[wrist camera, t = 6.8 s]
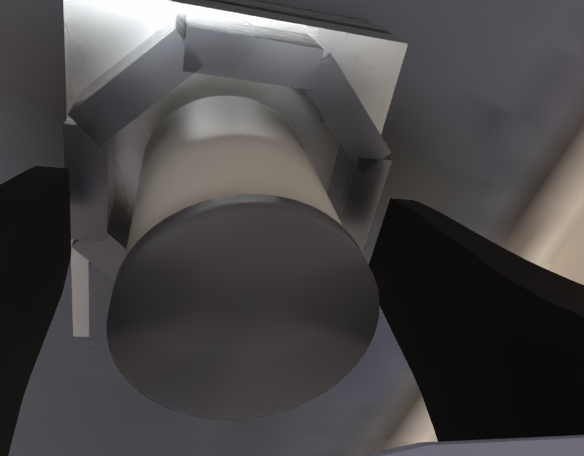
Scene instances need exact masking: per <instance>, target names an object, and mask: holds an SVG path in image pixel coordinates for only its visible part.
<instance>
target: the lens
mask: <svg viewBox="0 0 584 456" xmlns="http://www.w3.org/2000/svg"><path fill="white" fill-rule="evenodd" d="M379 304H380V301H379V293H378V288H377V284H376V281H375V278H374V275H373V273H372V271H371V269H370V267H369V265H368V264H367V262H366V260H365V258H364V256H363V254H362V252H361V250H360V248H359V246H358V244H357V243H356V241H355V240H354V239H353V237H352V236H351V235H350V233H349V232H348V231H347V230H346V229H345V228H344V227H343V226H342V224H341V222H340V220H339V218H338V216H337V214H336V212H335V210H334V207H333V205H332V203H331V201H330V199H329V197H328V195H327V193H326V191H325V189H324V187H323V185H322V183H321V181H320V179H319V177H318V175H317V173H316V171H315V169H314V167H313V165H312V163H311V161H310V159H309V157H308V155H307V153H306V150H305V148H304V146H303V144H302V142H301V140H300V138H299V137H298V135H297V133H296V131H295V130H294V129H293V127H292V126H291V125H290V123H289V122H288V121H287V120H286V119H285V118H284V117H283V116H281V115H280V114H279V113H278V112H276V111H275V110H273V109H272V108H270V107H268V106H267V105H265V104H262V103H260V102H258V101H255V100H252V99H248V98H245V97H238V96H212V97H207V98H203V99H199V100H196V101H193V102H191V103H188V104H186V105H184V106H182V107H181V108H179V109H177V110H176V111H174V112H173V113H172V114H170V115H169V116H168V117H167V118H166V119H165V120H164V121H163V122H162V123H161V124H160V125H159V126H158V127H157V129H156V130H155V131H154V133H153V134H152V136H151V138H150V140H149V142H148V144H147V147H146V150H145V152H144V157H143V162H142V167H141V173H140V178H139V184H138V189H137V194H136V200H135V205H134V211H133V216H132V222H131V227H130V232H129V238H128V243H127V249H126V254H125V259H124V261H123V262H122V264H121V266H120V268H119V270H118V273H117V276H116V278H115V281H114V286H113V290H112V295H111V300H110V305H109V310H108V315H107V339H108V345H109V349H110V352H111V355H112V357H113V360H114V362H115V364H116V365H117V367H118V369H119V370H120V372H121V373H122V375H123V376H124V377H125V378H126V379H127V381H128V382H129V383H130V384H131V385H132V386H133V387H134V388H136V389H137V390H138V391H139V392H140V393H142V394H143V395H144V396H146V397H147V398H149V399H150V400H152V401H154V402H156V403H158V404H160V405H162V406H163V407H166V408H168V409H171V410H174V411H176V412H179V413H183V414H187V415H190V416H195V417H201V418H207V419H220V420H238V419H249V418H257V417H262V416H267V415H272V414H275V413H279V412H282V411H286V410H288V409H291V408H294V407H296V406H299V405H301V404H303V403H305V402H308V401H310V400H312V399H314V398H315V397H317V396H319V395H320V394H322V393H324V392H326V391H327V390H328V389H330V388H331V387H332V386H334V385H335V384H337V383H338V382H339V381H340V380H341V379H342V378H344V377H345V376H346V375H347V374H348V373H349V372H350V371H351V370H352V369H353V367H354V366H355V365H356V364H357V363H358V362H359V360H360V359H361V357H362V356H363V355H364V353H365V352H366V350H367V348H368V346H369V344H370V343H371V341H372V338H373V336H374V333H375V330H376V327H377V322H378V318H379Z"/></svg>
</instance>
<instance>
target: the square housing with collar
mask: <svg viewBox="0 0 584 456" xmlns="http://www.w3.org/2000/svg"><path fill="white" fill-rule="evenodd" d="M63 3H64V38H65V72H66V106H67V118H66V120H65V121H64V123H63V132H64V162H65V169H69V184H70V220H71V276H72V310H73V337H89V348H109V345H108V339H107V315H108V310H109V305H110V300H111V295H112V290H113V286H114V281H115V278H116V276H117V273H118V270H119V268H120V266H121V264H122V262H123V261H124V259H125V254H126V249H127V243H128V238H129V232H130V227H131V222H132V216H133V211H134V205H135V200H136V194H137V189H138V184H139V178H140V173H141V167H142V162H143V157H144V152H145V150H146V147H147V144H148V142H149V140H150V138H151V136H152V134H153V133H154V131H155V130H156V129H157V127H158V126H159V125H160V124H161V123H162V122H163V121H164V120H165V119H166V118H167V117H168V116H169V115H170V114H172V113H173V112H174V111H176V110H177V109H179V108H181V107H182V106H184V105H186V104H188V103H191V102H193V101H196V100H199V99H203V98H207V97H212V96H238V97H245V98H248V99H252V100H255V101H258V102H260V103H262V104H265V105H267V106H268V107H270V108H272V109H273V110H275V111H276V112H278V113H279V114H280V115H281V116H283V117H284V118H285V119H286V120H287V121H288V122H289V123H290V125H291V126H292V127H293V129H294V130H295V131H296V133H297V135H298V137H299V138H300V140H301V142H302V144H303V146H304V148H305V150H306V153H307V155H308V157H309V159H310V161H311V163H312V165H313V167H314V169H315V171H316V173H317V175H318V177H319V179H320V181H321V183H322V185H323V187H324V189H325V191H326V193H327V195H328V197H329V199H330V201H331V203H332V205H333V207H334V210H335V212H336V214H337V216H338V218H339V220H340V222H341V224H342V226H343V227H344V228H345V229H346V230H347V231H348V232H349V233H350V235H351V236H352V237H353V239H354V240H355V241H356V243H357V244H358V246H359V248H360V250H361V252H362V254H363V252H364V249H365V245H366V242H367V239H368V236H369V233H370V230H371V226H372V223H373V220H374V217H375V214H376V211H377V208H378V204H379V201H380V198H381V195H382V192H383V189H384V185H385V182H386V179H387V176H388V173H389V170H390V166H391V163H392V160H391V159H390V157H389V156H388V155H389V154H390V153H391V151H390V149H389V148H388V146H387V144H386V143H385V141H384V139H383V138H382V136H381V133H382V130H383V127H384V123H385V120H386V116H387V113H388V110H389V106H390V103H391V100H392V96H393V93H394V89H395V86H396V83H397V79H398V76H399V73H400V69H401V66H402V62H403V59H404V56H405V52H406V49H407V45H408V43H406V42H404V41H402V40H401V39H399V38H397V37H395V36H394V35H392V34H390V33H389V32H387V31H385V30H383V29H382V28H380V27H378V26H377V25H375V24H373V23H371V22H368V21H363V20H357V19H352V18H347V17H341V16H336V15H331V14H326V13H320V12H315V11H310V10H304V9H299V8H294V7H288V6H283V5H278V4H272V3H267V2H262V1H256V0H63Z"/></svg>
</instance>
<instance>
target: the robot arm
mask: <svg viewBox="0 0 584 456" xmlns="http://www.w3.org/2000/svg"><path fill="white" fill-rule="evenodd" d="M70 256H71V220H70V184H69V169H64V168H53V167H42V166H36V167H33V168H31V169H29V170H27V171H25V172H23V173H21V174H19V175H17V176H16V177H14V178H12V179H10V180H8V181H7V182H5V183H3V184H1V185H0V456H8V454H9V450H10V446H11V442H12V438H13V434H14V430H15V426H16V423H17V419H18V415H19V411H20V407H21V403H22V399H23V396H24V393H25V390H26V387H27V384H28V381H29V378H30V375H31V373H32V370H33V368H34V365H35V362H36V360H37V357H38V355H39V352H40V350H41V347H42V344H43V342H44V339H45V337H46V334H47V331H48V329H49V326H50V324H51V321H52V319H53V316H54V313H55V311H56V308H57V305H58V303H59V300H60V297H61V295H62V292H63V288H64V284H65V280H66V275H67V271H68V266H69V261H70ZM369 267H370V269H371V271H372V273H373V275H374V278H375V281H376V284H377V288H378V293H379V301H380V307H381V309H382V311H383V313H384V315H385V317H386V319H387V322H388V324H389V326H390V328H391V330H392V332H393V334H394V336H395V338H396V340H397V342H398V344H399V346H400V348H401V350H402V352H403V354H404V356H405V358H406V360H407V362H408V365H409V367H410V369H411V371H412V373H413V375H414V377H415V379H416V382H417V384H418V386H419V389H420V391H421V393H422V396H423V399H424V402H425V405H426V407H427V410H428V413H429V416H430V419H431V422H432V424H433V427H434V430H435V433H436V436H437V440H438V442H423V443H416V444H411V445H406V446H402V447H397V448H393V449H388V450H383V451H379V452H374V453H370V454H367V455H366V456H584V285H582V284H579V283H577V282H574V281H572V280H569V279H567V278H565V277H562V276H560V275H558V274H556V273H553V272H551V271H549V270H546V269H544V268H542V267H540V266H538V265H536V264H534V263H531V262H529V261H527V260H525V259H523V258H521V257H520V256H518V255H516V254H514V253H512V252H510V251H508V250H506V249H504V248H502V247H500V246H498V245H497V244H495V243H493V242H491V241H489V240H488V239H486V238H484V237H482V236H480V235H479V234H477V233H475V232H473V231H472V230H470V229H468V228H466V227H465V226H463V225H461V224H459V223H458V222H456V221H454V220H452V219H451V218H449V217H447V216H445V215H444V214H442V213H440V212H438V211H436V210H434V209H432V208H430V207H428V206H426V205H424V204H422V203H419V202H416V201H414V200H403V199H392V198H390V202H389V205H388V208H387V211H386V214H385V217H384V220H383V223H382V226H381V229H380V232H379V235H378V238H377V242H376V245H375V248H374V251H373V254H372V257H371V260H370V263H369Z"/></svg>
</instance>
